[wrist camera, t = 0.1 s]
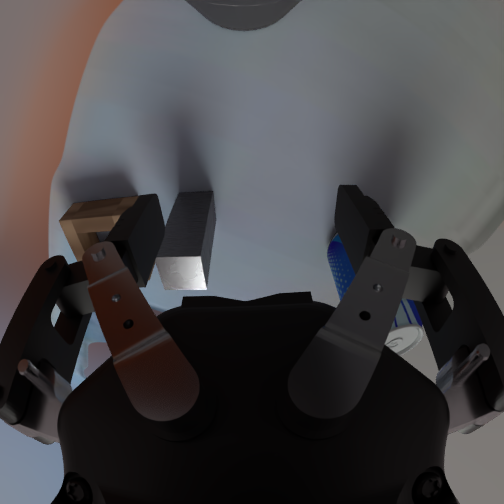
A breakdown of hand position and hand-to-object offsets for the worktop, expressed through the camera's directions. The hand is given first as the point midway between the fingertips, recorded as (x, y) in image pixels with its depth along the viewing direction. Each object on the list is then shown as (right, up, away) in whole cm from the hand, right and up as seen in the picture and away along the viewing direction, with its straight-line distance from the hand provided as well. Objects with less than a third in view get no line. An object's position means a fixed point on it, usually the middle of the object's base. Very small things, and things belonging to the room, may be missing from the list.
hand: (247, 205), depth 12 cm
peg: (-6, +3, +20) cm, 21 cm away
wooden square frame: (-18, +1, +22) cm, 28 cm away
